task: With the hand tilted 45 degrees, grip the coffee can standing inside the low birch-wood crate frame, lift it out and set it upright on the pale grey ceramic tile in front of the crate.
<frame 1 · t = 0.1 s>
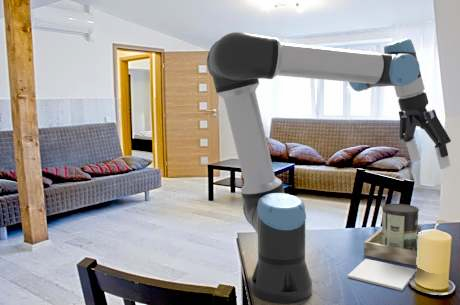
hand: (429, 163, 125), 28 cm above the table, tool tilted 20°, fingers open, 13 cm apart
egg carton: (406, 234, 149), on the table
crate frame: (398, 252, 131), on the table
ceramic tile: (382, 274, 115), on the table
coffee can: (398, 253, 131), resting in crate frame
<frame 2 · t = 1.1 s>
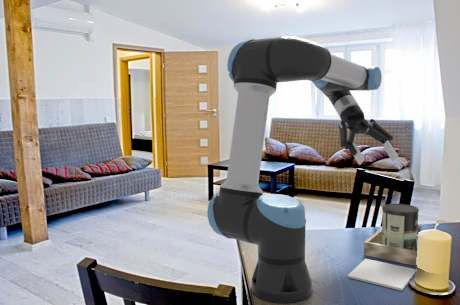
hand: (378, 160, 137), 27 cm above the table, tool tilted 45°, fingers open, 13 cm apart
nothing on the table moved.
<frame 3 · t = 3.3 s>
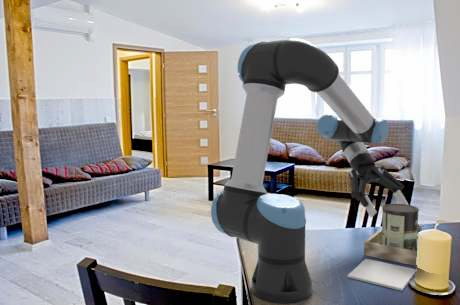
hand: (390, 212, 135), 11 cm above the table, tool tilted 45°, fingers open, 13 cm apart
nothing on the table moved.
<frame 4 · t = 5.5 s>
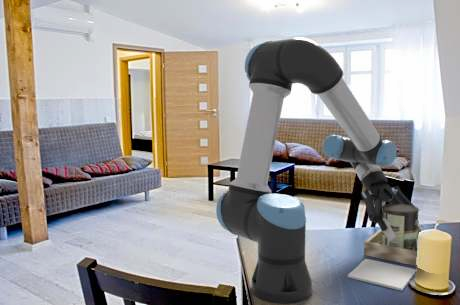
hand: (406, 236, 128), 6 cm above the table, tool tilted 45°, fingers closed on coffee can, 10 cm apart
coffee can: (398, 252, 131), resting in crate frame, touching gripper
everything else where it was.
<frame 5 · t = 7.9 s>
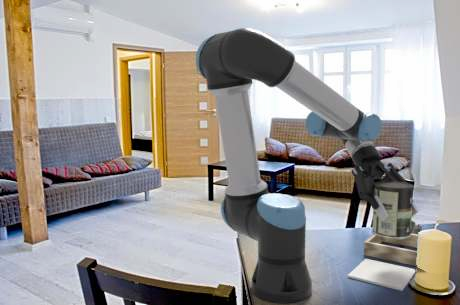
hand: (400, 216, 116), 15 cm above the table, tool tilted 45°, fingers closed on coffee can, 10 cm apart
coffee can: (390, 234, 120), point 9 cm above the table, touching gripper
everything else where it was.
when the fingers open (8 cm above the table, at t = 10.2 s): coffee can drops 1 cm, resting on ceramic tile.
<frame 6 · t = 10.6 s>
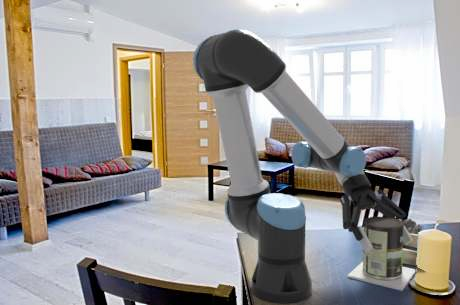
hand: (389, 246, 112), 9 cm above the table, tool tilted 45°, fingers open, 13 cm apart
coffee can: (381, 273, 115), resting on ceramic tile
everything else where it was.
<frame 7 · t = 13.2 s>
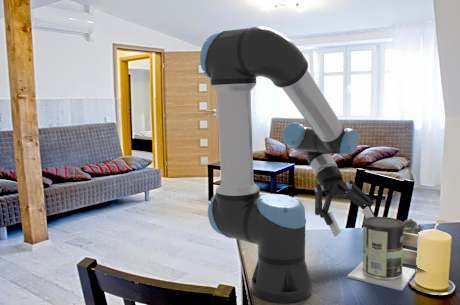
hand: (356, 230, 124), 9 cm above the table, tool tilted 45°, fingers open, 13 cm apart
nothing on the table moved.
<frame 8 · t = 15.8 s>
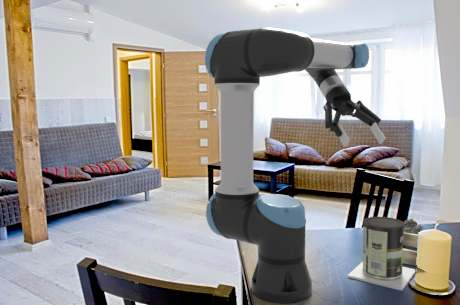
hand: (365, 142, 130), 34 cm above the table, tool tilted 45°, fingers open, 13 cm apart
nothing on the table moved.
at the end: coffee can 0.2 cm from the ceramic tile (horizontally); coffee can tilted 0°; the gripper is holding nothing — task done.
